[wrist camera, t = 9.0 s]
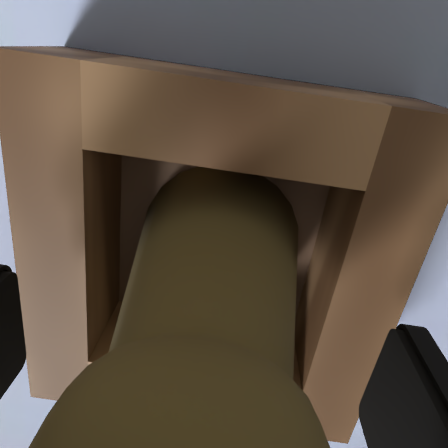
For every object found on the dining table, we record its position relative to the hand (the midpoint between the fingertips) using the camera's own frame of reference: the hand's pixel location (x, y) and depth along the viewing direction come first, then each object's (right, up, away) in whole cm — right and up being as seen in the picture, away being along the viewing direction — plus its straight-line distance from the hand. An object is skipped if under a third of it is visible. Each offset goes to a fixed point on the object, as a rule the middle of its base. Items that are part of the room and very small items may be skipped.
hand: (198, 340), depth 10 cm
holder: (0, +3, +6) cm, 6 cm away
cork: (0, +2, +5) cm, 6 cm away
